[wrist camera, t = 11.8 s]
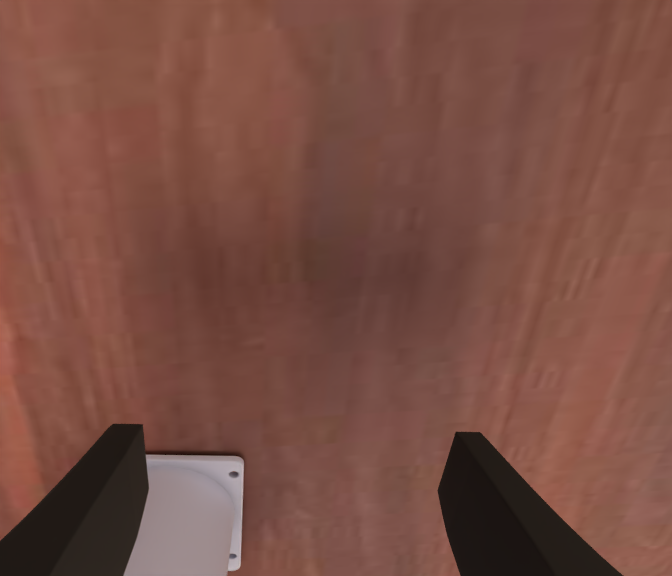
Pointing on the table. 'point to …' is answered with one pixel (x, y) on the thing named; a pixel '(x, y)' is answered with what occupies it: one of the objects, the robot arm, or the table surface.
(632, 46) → the table surface
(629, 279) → the table surface
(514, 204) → the table surface
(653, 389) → the table surface
